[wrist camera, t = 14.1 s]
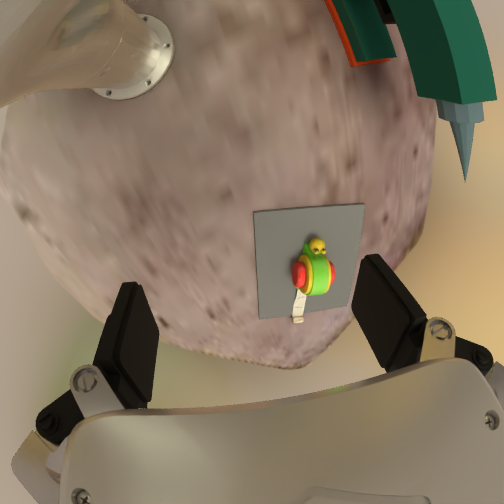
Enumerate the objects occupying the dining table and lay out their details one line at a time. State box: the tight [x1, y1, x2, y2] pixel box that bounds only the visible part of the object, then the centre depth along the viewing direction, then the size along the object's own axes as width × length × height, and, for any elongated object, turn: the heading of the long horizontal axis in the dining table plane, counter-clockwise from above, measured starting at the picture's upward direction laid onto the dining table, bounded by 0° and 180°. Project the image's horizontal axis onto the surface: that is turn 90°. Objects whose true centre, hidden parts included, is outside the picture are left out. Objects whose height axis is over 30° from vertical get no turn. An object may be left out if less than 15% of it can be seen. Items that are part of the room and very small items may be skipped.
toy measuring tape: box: [292, 238, 335, 323], centre depth 45 cm, size 6×19×7 cm, turn 177°
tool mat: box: [253, 203, 365, 319], centre depth 46 cm, size 18×22×1 cm
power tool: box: [324, 0, 497, 181], centre depth 19 cm, size 32×7×20 cm, turn 21°
